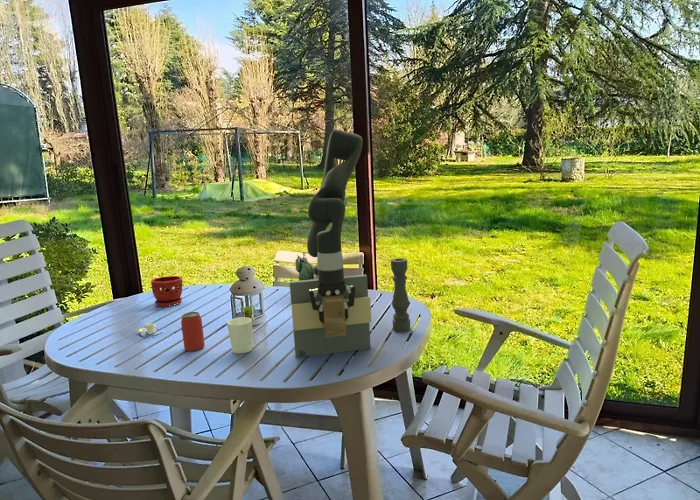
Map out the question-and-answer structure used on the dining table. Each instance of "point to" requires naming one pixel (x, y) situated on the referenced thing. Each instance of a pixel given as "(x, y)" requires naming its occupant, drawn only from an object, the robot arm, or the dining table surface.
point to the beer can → (192, 331)
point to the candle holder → (400, 295)
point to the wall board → (311, 329)
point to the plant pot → (167, 290)
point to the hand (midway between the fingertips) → (334, 321)
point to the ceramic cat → (304, 268)
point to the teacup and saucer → (148, 328)
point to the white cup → (241, 334)
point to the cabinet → (334, 315)
